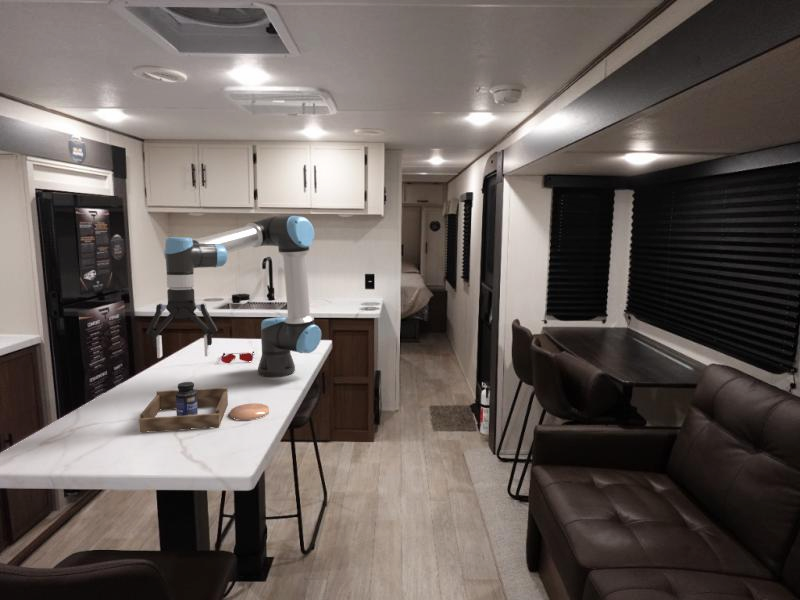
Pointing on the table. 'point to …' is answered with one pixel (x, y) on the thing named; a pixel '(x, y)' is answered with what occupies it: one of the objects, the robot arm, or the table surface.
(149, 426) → the frame
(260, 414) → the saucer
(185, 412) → the pill bottle
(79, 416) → the table surface
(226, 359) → the glasses
